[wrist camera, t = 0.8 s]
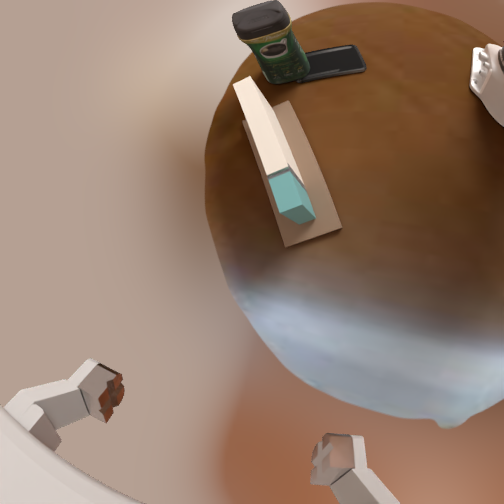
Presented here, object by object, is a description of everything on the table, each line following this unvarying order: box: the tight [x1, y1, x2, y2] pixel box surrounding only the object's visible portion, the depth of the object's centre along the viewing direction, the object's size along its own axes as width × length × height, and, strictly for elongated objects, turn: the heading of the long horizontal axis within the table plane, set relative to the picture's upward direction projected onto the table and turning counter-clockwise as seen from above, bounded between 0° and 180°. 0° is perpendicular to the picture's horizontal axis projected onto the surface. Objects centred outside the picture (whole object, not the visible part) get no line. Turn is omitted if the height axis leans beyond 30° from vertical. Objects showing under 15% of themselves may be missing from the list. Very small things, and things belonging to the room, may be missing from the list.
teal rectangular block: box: [267, 168, 316, 225], centre depth 39 cm, size 5×3×12 cm, turn 18°
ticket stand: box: [233, 77, 342, 248], centre depth 40 cm, size 26×10×13 cm, turn 18°
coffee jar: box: [232, 0, 310, 84], centre depth 38 cm, size 10×8×19 cm
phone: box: [295, 45, 366, 83], centre depth 43 cm, size 8×1×15 cm
